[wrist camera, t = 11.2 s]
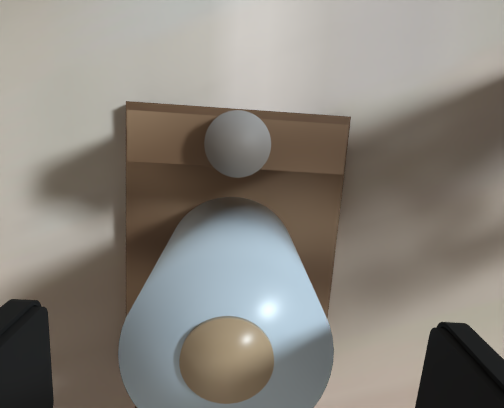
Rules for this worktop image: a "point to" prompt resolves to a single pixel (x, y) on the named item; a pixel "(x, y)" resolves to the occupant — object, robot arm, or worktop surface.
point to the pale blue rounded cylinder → (227, 317)
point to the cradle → (232, 178)
